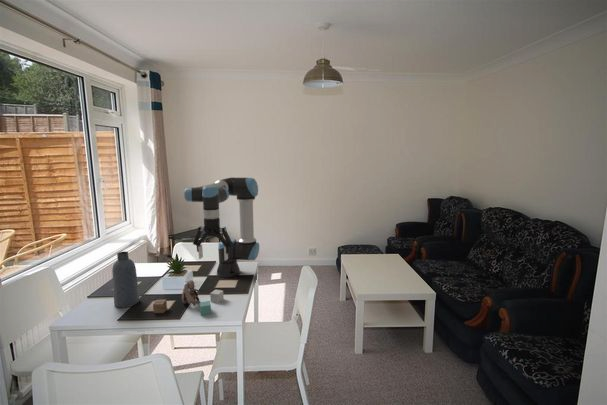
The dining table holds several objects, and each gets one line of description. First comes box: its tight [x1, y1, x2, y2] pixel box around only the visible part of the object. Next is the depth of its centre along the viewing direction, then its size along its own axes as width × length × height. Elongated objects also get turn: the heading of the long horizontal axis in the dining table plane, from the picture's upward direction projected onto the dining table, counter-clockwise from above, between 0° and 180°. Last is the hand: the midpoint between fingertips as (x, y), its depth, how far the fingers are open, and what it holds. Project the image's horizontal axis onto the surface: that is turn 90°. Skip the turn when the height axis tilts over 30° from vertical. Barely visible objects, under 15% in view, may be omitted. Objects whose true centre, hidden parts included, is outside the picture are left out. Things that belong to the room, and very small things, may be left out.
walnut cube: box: [152, 299, 168, 314], centre depth 168 cm, size 5×5×5 cm
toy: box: [181, 279, 200, 306], centre depth 175 cm, size 9×8×15 cm
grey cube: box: [209, 289, 224, 304], centre depth 180 cm, size 5×5×5 cm
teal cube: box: [199, 300, 212, 317], centre depth 166 cm, size 5×5×5 cm
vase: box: [111, 251, 141, 309], centre depth 175 cm, size 12×12×28 cm
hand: (213, 258), depth 164 cm, fingers open, 13 cm apart
